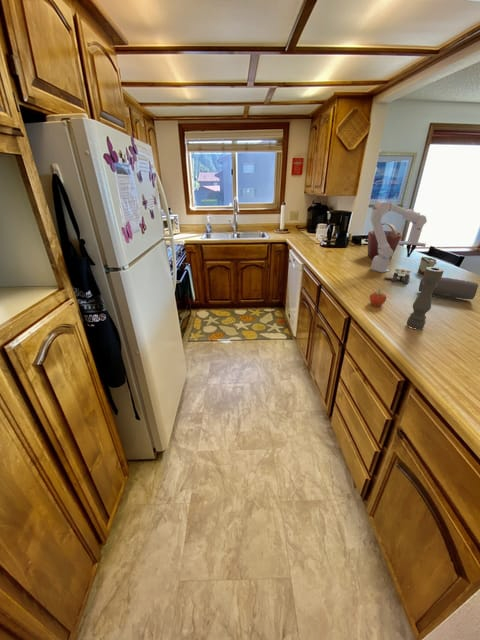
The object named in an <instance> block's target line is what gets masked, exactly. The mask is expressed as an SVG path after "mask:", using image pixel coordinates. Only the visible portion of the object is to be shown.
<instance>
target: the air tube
mask: <svg viewBox="0 0 480 640" xmlns="http://www.w3.org/2000/svg"><path fill="white" fill-rule="evenodd" d="M393 275H394V274H391V273H385V275H384V279H386V280H392V279H393ZM404 279H405V275H399V274H398V276H397V279H396V281H399V282H404ZM410 280H411V277H410V276H409V279H408V283H409V282H410Z"/></svg>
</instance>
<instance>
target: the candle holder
mask: <svg viewBox="0 0 480 640" xmlns="http://www.w3.org/2000/svg"><path fill="white" fill-rule="evenodd" d="M444 271H445V269H443V268H441V267H437V266H434V267H427V268H426V270H425V272H424V275H423V276H424V282H422V290H421V292H420V293H419V294H418V296H417V297H416V299H415V300H414V302H413V304H412V310H413V312H411V313H410V315H409V316H408V318H407V321H406V323H407V325H408V326H410V327H412V328H416V329H422V328H423V329H424V327H425V324H426V320H427V316H426V314H427V313H428V312H430V310H431V307H432V297H433V296H432V293H433V290H434V289H435V288H436V287H437V284H436V283H437V282H438V281H439V280H440V279H441V277H442V276H443V274H444ZM423 276H422V277H423ZM442 278H443V277H442ZM407 325H406V326H407ZM423 329H422V330H423Z"/></svg>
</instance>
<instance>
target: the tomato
mask: <svg viewBox="0 0 480 640" xmlns="http://www.w3.org/2000/svg"><path fill="white" fill-rule="evenodd" d="M386 301H387V295H386V294H385V293H384V292H383V291H381V289H378V290H377V291H373V292H372V293H371V294H370V295H369V302H370V303H371V305H372V306H373V305H375V306H374V307H377V306H379V307H381V306H382V305H384V304H385V302H386Z"/></svg>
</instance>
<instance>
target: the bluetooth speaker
mask: <svg viewBox="0 0 480 640" xmlns="http://www.w3.org/2000/svg"><path fill="white" fill-rule="evenodd" d="M422 282H424V276H422V277H421V280H420V282H419V286H418V292H420V293H421V290H422ZM436 284H437V287H436V288H435V289H434V290H433V293H432V297H436V298H442V299H448V300H456V299H460V300H461V299H462V300H463V299H464V300H474V298H475V297H476V295H477V290H478V288H479V283H477V282H474V281H469V280H462V279H457V278H450V277H441V279H440V280H439V281H438V282H437V283H436Z"/></svg>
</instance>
